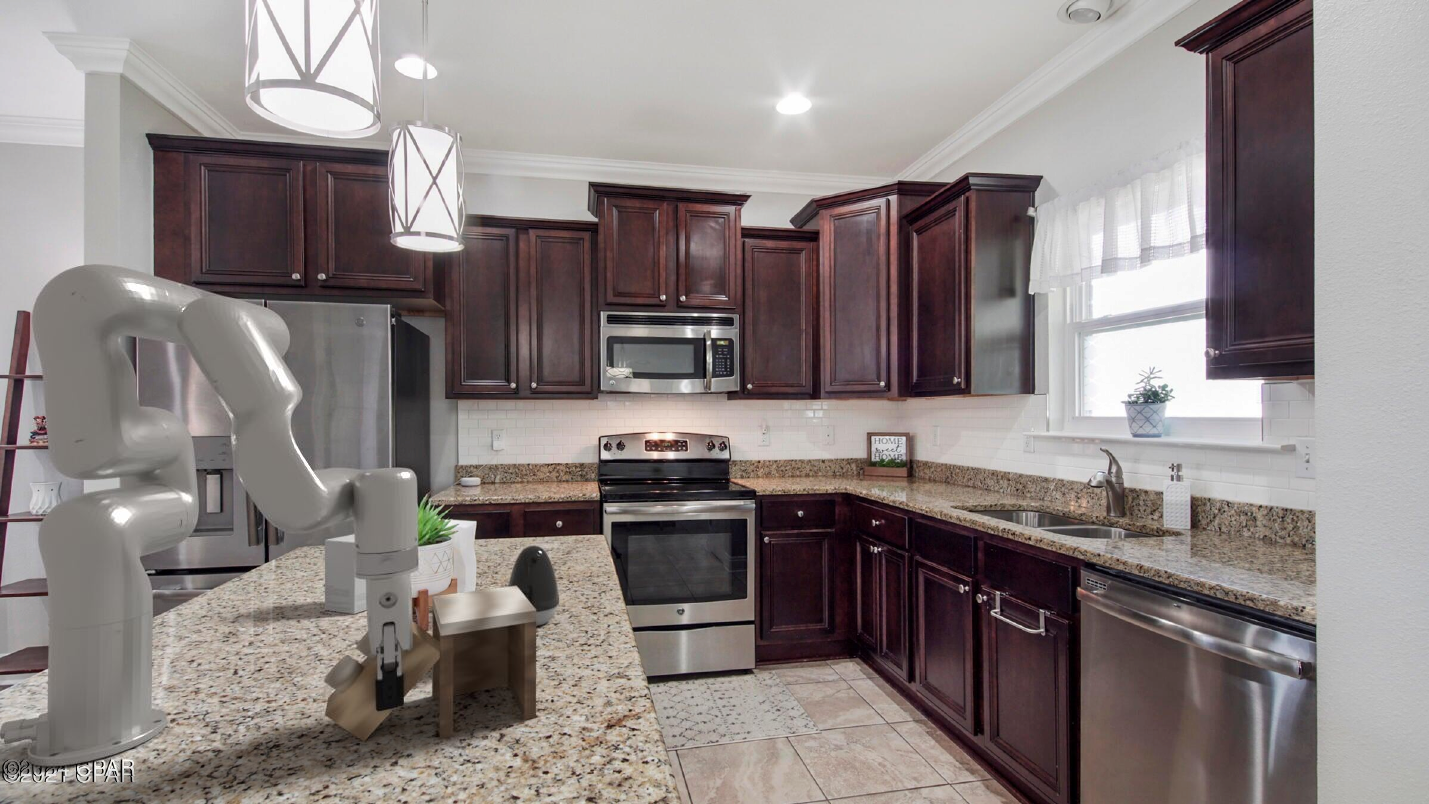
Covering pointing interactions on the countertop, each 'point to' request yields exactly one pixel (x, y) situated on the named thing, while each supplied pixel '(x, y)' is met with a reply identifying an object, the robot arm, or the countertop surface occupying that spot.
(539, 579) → the dark grey egg dome
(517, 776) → the countertop surface
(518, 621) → the wooden mini stool
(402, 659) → the tan toy brick
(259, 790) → the countertop surface
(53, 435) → the robot arm
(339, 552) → the supplement box
